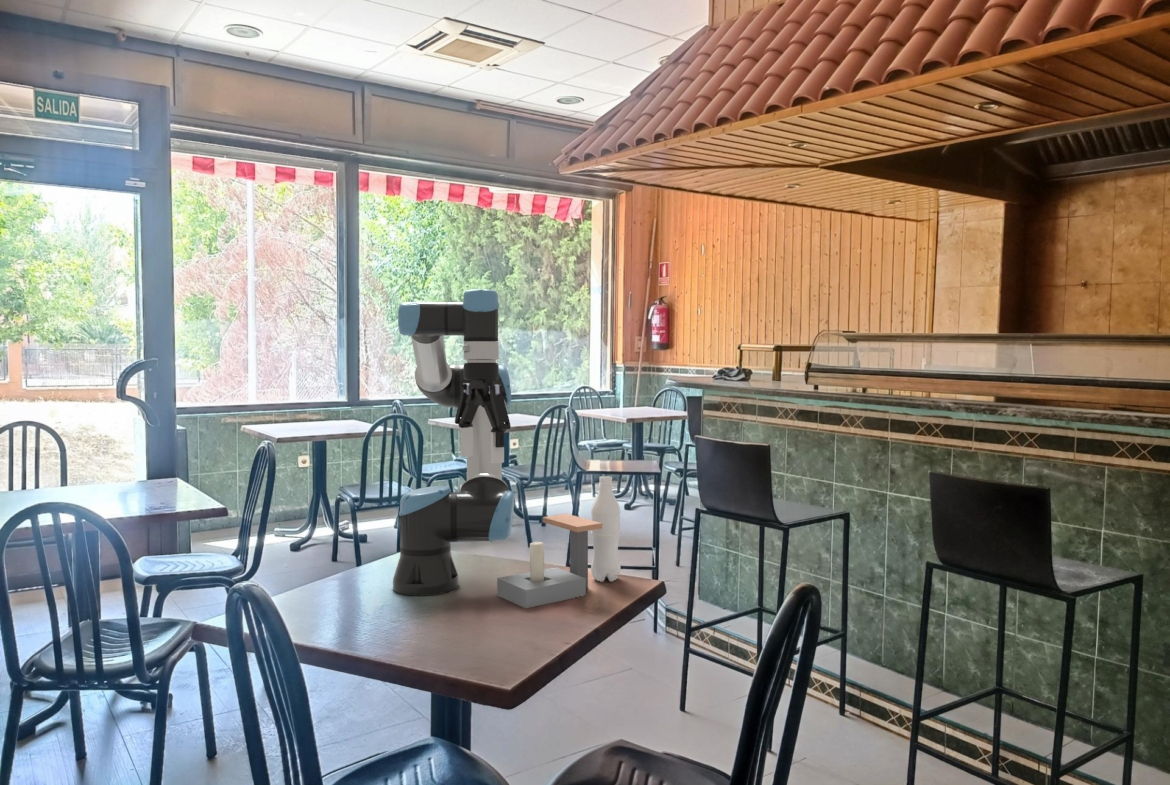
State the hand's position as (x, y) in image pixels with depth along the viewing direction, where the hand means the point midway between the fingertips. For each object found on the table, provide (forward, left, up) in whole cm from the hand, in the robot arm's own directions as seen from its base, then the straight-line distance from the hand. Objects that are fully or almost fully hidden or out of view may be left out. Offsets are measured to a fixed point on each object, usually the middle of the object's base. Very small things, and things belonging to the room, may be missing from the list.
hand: (481, 459), depth 176 cm
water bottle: (0, +34, -32) cm, 47 cm away
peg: (+2, +13, -32) cm, 34 cm away
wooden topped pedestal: (+2, +23, -32) cm, 39 cm away
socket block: (+2, +14, -32) cm, 35 cm away
